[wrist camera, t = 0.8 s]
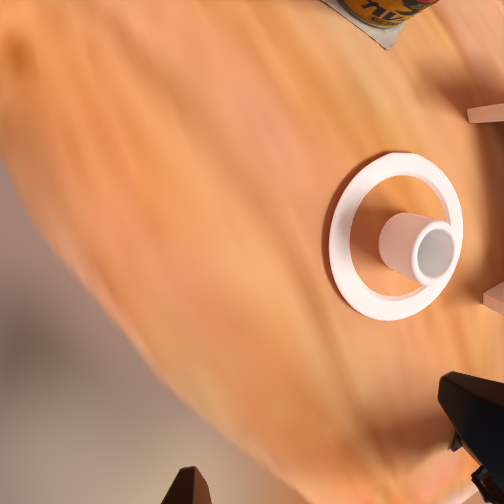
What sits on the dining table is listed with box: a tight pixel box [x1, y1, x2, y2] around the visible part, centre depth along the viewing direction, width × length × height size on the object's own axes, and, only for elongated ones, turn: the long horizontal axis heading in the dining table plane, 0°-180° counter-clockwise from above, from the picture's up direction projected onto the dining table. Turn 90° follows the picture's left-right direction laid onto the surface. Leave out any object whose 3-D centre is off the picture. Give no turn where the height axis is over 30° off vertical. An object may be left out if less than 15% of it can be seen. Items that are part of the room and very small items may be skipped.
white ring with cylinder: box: [329, 153, 463, 321], centre depth 19 cm, size 12×12×4 cm
